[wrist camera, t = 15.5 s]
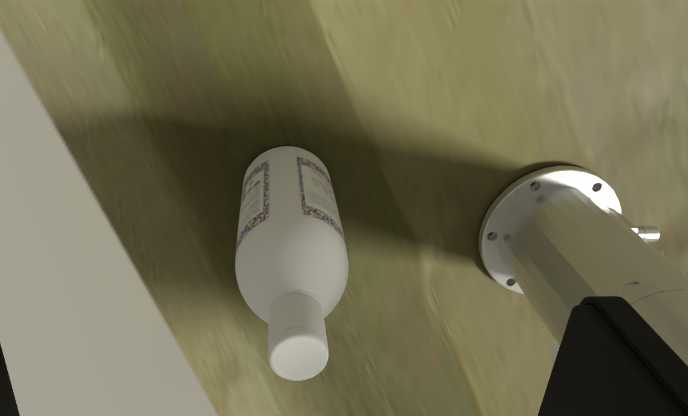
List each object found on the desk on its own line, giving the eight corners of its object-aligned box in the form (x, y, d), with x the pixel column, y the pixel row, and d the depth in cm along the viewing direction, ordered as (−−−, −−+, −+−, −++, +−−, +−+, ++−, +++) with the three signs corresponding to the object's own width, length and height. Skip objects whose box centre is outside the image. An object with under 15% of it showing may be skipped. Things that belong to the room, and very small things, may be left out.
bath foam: (249, 226, 45) (236, 420, 28) (237, 148, 42) (213, 310, 25) (333, 218, 46) (372, 402, 28) (327, 139, 43) (367, 292, 25)
